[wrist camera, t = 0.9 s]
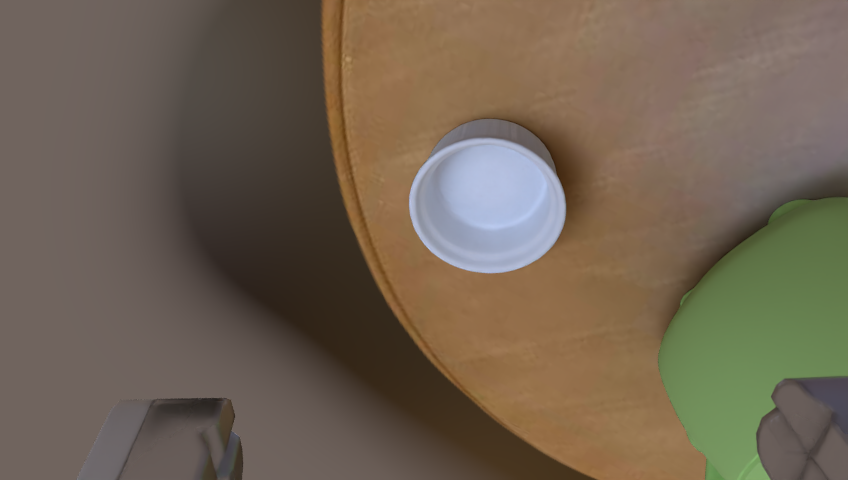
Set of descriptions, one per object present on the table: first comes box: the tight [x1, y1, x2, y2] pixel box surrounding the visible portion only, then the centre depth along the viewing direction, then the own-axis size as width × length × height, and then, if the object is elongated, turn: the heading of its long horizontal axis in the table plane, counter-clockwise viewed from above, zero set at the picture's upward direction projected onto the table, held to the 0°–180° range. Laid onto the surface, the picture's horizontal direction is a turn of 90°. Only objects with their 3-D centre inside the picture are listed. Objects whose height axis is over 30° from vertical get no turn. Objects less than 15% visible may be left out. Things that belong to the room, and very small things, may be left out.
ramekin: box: [409, 119, 566, 273], centre depth 37 cm, size 9×9×4 cm
